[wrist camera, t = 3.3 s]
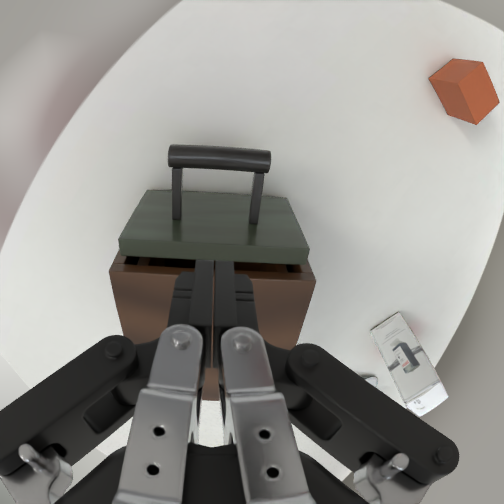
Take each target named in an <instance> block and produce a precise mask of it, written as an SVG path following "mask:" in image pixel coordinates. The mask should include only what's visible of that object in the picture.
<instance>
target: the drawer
mask: <svg viewBox="0 0 504 504" xmlns="http://www.w3.org/2000/svg"><path fill="white" fill-rule="evenodd" d="M270 165H271V152H270V151H268V150H258V149H246V148H234V147H219V146H201V145H170V147H169V151H168V166H169V167H173V168H172V191H166V190H147V191H146V192H145V194H144V196H143V197H142V199H141V201H140V202H139V204H138V206H137V207H136V209H135V211H134V212H133V214H132V216H131V217H130V219H129V221H128V223H127V224H126V226H125V228H124V230H123V232H122V233H121V235H120V237H119V239H118V241H119V248H120V255H121V256H137V257H140V258H139V261H138V264H137V265H142V266H159V267H176V268H195V264H196V259H199V260H214V269H215V262H216V260H220V261H234V270H236V271H258V272H283V273H288V271H287V267H286V264H296V265H306V262H307V258H308V254H309V250H310V249H309V246H308V244H307V242H306V240H305V237H304V235H303V233H302V231H301V228H300V226H299V224H298V222H297V219H296V217H295V215H294V213H293V211H292V209H291V206H290V204H289V202H288V200H287V198H281V197H269V196H262V190H263V183H264V175H265V174H264V173H268V172H269V170H270ZM183 168H200V169H219V170H234V171H247V172H254V177H253V185H252V193H251V195H243V194H228V193H211V192H191V191H182V179H183Z"/></svg>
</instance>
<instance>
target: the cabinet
mask: <svg viewBox="0 0 504 504" xmlns="http://www.w3.org/2000/svg"><path fill="white" fill-rule="evenodd" d="M139 258H140V257H137V256H121V255H120V249H119V251H118V253H117V255H116V257H115V259H114V261H113V264H112V265H111V267H110V269H109V275H110V280H111V284H112V289H113V294H114V298H115V303H116V307H117V311H118V315H119V319H120V323H121V327H122V331H123V335H124V336H125V337H127V338H129V339H130V340H131V341H132V342H133V343H134V345H135V344H141V343H146V342H150V341H153V340H155V339H157V338H159V337H160V335H161V333H162V332H163V331H164V330H165V329H166V328H167V324H168V318H169V312H170V306H171V301H172V295H173V290H174V285H175V280H176V278H177V277H178V276H179V275H180V273H181V272H182V271H188V272H195V268H176V267H159V266H142V265H137V264H138V261H139ZM286 267H287V271H288V273H283V272H258V271H236V270H234V274H246V275H247V276H248V277H249V279H250V280H251V281H252V283H253V291H254V298H255V306H256V313H257V321H258V329H259V332H260V335H261V336H262V338H263V339H264V340H265V341H267V342H268V343H269V344H271V345H273V346H276V347H279V348H283V349H287V350H291V349H292V348H293V347H295V346H296V344H297V341H298V338H299V335H300V332H301V328H302V325H303V322H304V319H305V316H306V313H307V310H308V307H309V303H310V300H311V297H312V294H313V290H314V287H315V284H316V279H315V276H314V274H313V272H312V269H311V267H310V264H309V262H308V259H307V262H306V265H296V264H286ZM214 282H215V269H214V273H213V303H212V339H211V368H205V382H204V384H203V395H202V400H210V401H220V400H219V391H218V368H213V309H214Z"/></svg>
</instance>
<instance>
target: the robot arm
mask: <svg viewBox="0 0 504 504" xmlns="http://www.w3.org/2000/svg"><path fill="white" fill-rule="evenodd" d="M213 273H214V260H199V259H196V264H195V272H188V271H182V272H181V273H180V275H179V276H178V277H177V278H176V280H175V285H174V290H173V295H172V301H171V306H170V312H169V318H168V324H167V328H166V329H165V330H164V331H163V332H162V333H161V335H160V337H159V338H157V339H155V340H153V341H150V342H146V343H141V344H135V345H134V343H133V342H132V341H131V340H130V339H129V338H127V337H125V336H121V335H112V336H108V337H106V338H104V339H102V340H101V341H99V342H98V343H96V344H95V345H93V346H92V347H90V348H89V349H88V350H86V351H85V352H83V353H82V354H80V355H79V356H78V357H76V358H75V359H73V360H72V361H70V362H69V363H67V364H66V365H65V366H63V367H62V368H60V369H59V370H57V371H56V372H55V373H53V374H52V375H50V376H49V377H47V378H46V379H45V380H43V381H42V382H40V383H39V384H37V385H36V386H35V387H33V388H32V389H30V390H29V391H28V392H26V393H25V394H23V395H22V396H20V397H19V398H18V399H16V400H15V401H13V402H12V403H11V404H10V405H8V406H6V407H5V408H4V409H2V410H1V411H0V479H1V480H2V482H3V483H4V485H5V487H6V488H7V490H8V492H9V493H10V495H11V496H12V498H13V499H14V501H15V502H16V504H419V503H420V502H421V500H422V499H423V497H424V495H425V494H426V492H427V490H428V489H429V487H430V485H431V484H432V483H434V482H435V481H437V480H439V479H441V478H442V477H444V476H446V475H448V474H449V473H451V472H452V471H453V470H454V469H455V468H456V467H457V464H458V461H459V452H458V448H457V446H456V445H455V443H454V442H453V441H452V440H450V439H449V438H447V437H446V436H444V435H443V434H442V433H440V432H439V431H437V430H436V429H434V428H433V427H431V426H430V425H428V424H427V423H425V422H424V421H422V420H421V419H420V418H418V417H417V416H415V415H414V414H412V413H411V412H409V411H408V410H407V409H405V408H404V407H402V406H401V405H399V404H398V403H397V402H395V401H394V400H392V399H391V398H390V397H388V396H387V395H385V394H384V393H383V392H381V391H380V390H378V389H377V388H376V387H374V386H373V385H371V384H370V383H369V382H367V381H366V380H364V379H363V378H362V377H360V376H359V375H358V374H356V373H355V372H354V371H352V370H351V369H349V368H348V367H347V366H345V365H344V364H343V363H341V362H340V361H339V360H337V359H336V358H335V357H333V356H332V355H331V354H329V353H328V352H327V351H325V350H324V349H322V348H321V347H319V346H317V345H314V344H309V343H304V344H299V345H297V346H295V347H293V348H292V349H291V350H287V349H283V348H279V347H276V346H273V345H271V344H269V343H268V342H267V341H265V340H264V339H263V338H262V336H261V335H260V332H259V329H258V321H257V313H256V306H255V298H254V291H253V283H252V281H251V280H250V279H249V277H248V276H247V275H246V274H234V261H220V260H216V262H215V282H214V309H213V368H218V391H219V400H220V409H221V417H222V425H223V438H224V445H223V446H219V447H206V446H203V445H199V444H198V442H199V424H200V414H201V404H202V395H203V384H204V382H205V368H211V339H212V303H213ZM131 417H133V420H132V424H131V428H130V433H129V437H128V442H127V446H124V447H122V448H120V449H118V450H116V451H115V452H113V453H112V454H110V455H109V456H108V457H107V458H106V459H104V461H102V462H101V463H100V464H99V465H98V466H97V467H95V468H94V469H93V470H92V471H91V472H90V473H89V474H88V475H86V476H85V477H84V478H83V479H82V480H81V481H79V482H78V483H77V484H76V485H75V486H74V487H72V488H71V489H70V490H69V491H68V492H66V493H65V494H64V492H65V491H66V489H67V488H68V487H69V486H70V485H71V483H72V480H73V471H72V467H71V466H72V465H74V464H75V463H76V462H78V461H79V460H80V459H81V458H83V457H84V456H85V455H86V454H88V453H89V452H90V451H91V450H93V449H94V448H95V447H96V446H98V445H99V444H100V443H101V442H103V441H104V440H105V439H106V438H107V437H109V436H110V435H111V434H112V433H114V432H115V431H116V430H117V429H118V428H120V427H121V426H122V425H123V424H124V423H126V422H127V421H128V420H129V419H130V418H131ZM291 423H292V424H293V425H295V426H296V427H297V428H298V429H299V430H300V431H302V432H303V433H304V434H305V435H306V436H308V437H309V438H310V439H311V440H313V441H314V442H315V443H316V444H317V445H319V446H320V447H321V448H322V449H324V450H325V451H326V452H328V453H329V454H330V455H331V456H333V457H334V458H335V459H337V460H338V461H339V462H340V463H342V464H343V465H344V466H346V467H347V468H348V469H350V470H351V471H353V472H354V473H355V474H354V478H353V482H354V486H355V488H356V490H357V491H358V492H359V493H360V494H361V495H362V496H363V497H364V499H363V498H362V497H360V496H359V495H358V494H356V493H355V492H354V491H352V490H351V489H350V488H349V487H347V486H346V485H345V484H344V483H342V482H341V481H340V480H339V479H338V478H336V477H335V476H334V475H333V474H331V473H330V472H329V471H328V470H327V469H325V468H324V467H323V466H322V465H321V464H320V463H318V462H317V461H316V460H315V459H313V458H312V457H310V456H309V455H307V454H305V453H303V452H301V451H299V450H298V447H297V444H296V440H295V436H294V432H293V429H292V425H291Z"/></svg>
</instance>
